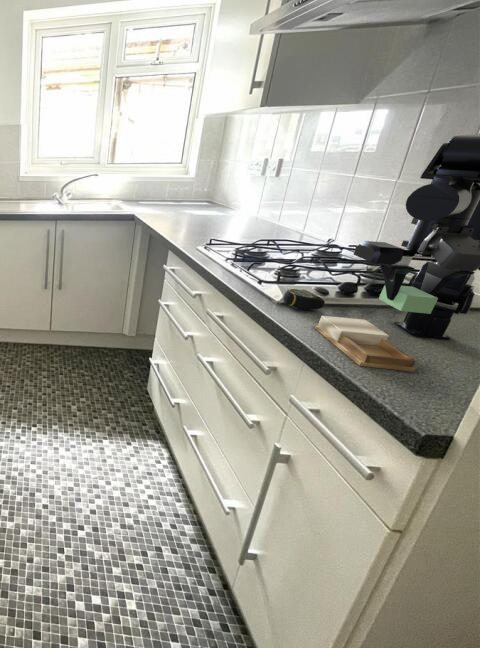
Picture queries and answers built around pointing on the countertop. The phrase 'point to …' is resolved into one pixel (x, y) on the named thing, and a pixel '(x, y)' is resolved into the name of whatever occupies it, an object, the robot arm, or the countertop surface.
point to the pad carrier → (364, 343)
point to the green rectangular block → (411, 300)
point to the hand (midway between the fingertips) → (405, 301)
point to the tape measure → (303, 299)
